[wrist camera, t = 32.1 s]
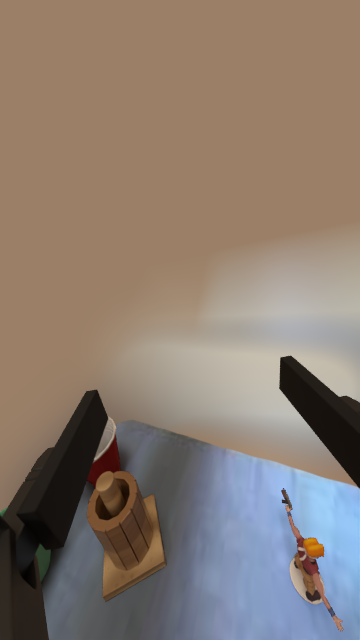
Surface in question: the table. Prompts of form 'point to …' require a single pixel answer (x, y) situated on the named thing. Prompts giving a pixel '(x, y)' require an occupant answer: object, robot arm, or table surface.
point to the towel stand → (155, 557)
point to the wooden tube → (122, 524)
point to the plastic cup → (105, 454)
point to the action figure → (308, 567)
